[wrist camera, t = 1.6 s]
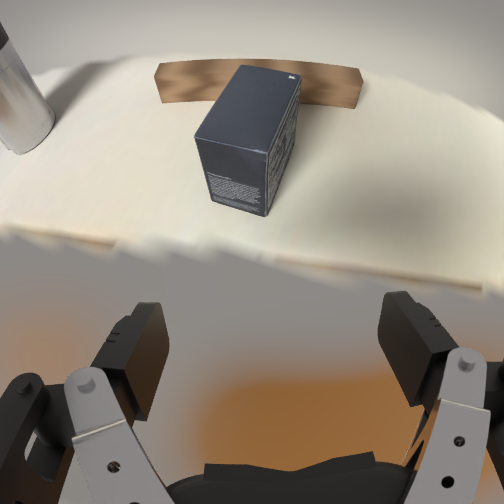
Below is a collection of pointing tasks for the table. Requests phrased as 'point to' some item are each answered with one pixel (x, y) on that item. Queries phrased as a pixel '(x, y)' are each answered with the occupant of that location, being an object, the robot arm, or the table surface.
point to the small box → (249, 137)
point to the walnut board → (221, 70)
